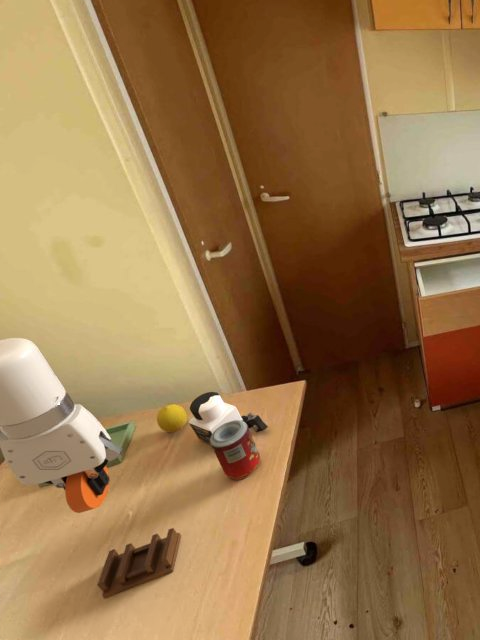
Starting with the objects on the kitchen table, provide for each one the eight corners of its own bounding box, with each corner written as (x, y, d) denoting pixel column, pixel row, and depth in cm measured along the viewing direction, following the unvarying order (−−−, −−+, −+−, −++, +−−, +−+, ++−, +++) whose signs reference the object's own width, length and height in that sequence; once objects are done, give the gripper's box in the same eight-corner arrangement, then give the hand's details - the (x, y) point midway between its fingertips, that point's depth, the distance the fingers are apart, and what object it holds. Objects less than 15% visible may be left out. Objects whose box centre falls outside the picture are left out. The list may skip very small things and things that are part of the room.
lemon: (158, 436, 103) (145, 413, 100) (179, 418, 108) (167, 396, 104) (176, 441, 102) (164, 417, 98) (197, 423, 107) (185, 400, 103)
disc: (81, 523, 69) (58, 492, 65) (100, 481, 75) (79, 451, 72) (97, 518, 70) (74, 487, 66) (114, 477, 76) (94, 447, 73)
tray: (39, 487, 92) (34, 481, 91) (62, 447, 101) (57, 441, 100) (121, 462, 97) (117, 456, 96) (135, 426, 106) (132, 420, 105)
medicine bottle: (199, 440, 102) (178, 407, 96) (225, 417, 108) (206, 384, 102) (220, 449, 100) (200, 416, 94) (246, 424, 106) (228, 392, 100)
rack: (104, 598, 74) (95, 588, 72) (117, 558, 79) (109, 548, 78) (173, 571, 77) (166, 561, 76) (181, 535, 83) (174, 524, 81)
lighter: (246, 436, 106) (233, 421, 105) (253, 430, 108) (240, 415, 107) (261, 432, 102) (247, 416, 101) (268, 426, 104) (255, 410, 103)
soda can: (266, 466, 96) (251, 429, 90) (232, 488, 91) (213, 451, 86) (255, 448, 100) (239, 412, 95) (222, 468, 96) (203, 431, 90)
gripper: (-54, 453, 57) (18, 531, 66) (95, 415, 63) (144, 492, 72) (-21, 413, 63) (42, 490, 72) (113, 382, 69) (156, 456, 78)
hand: (92, 490), depth 72 cm, fingers closed on disc, 2 cm apart
